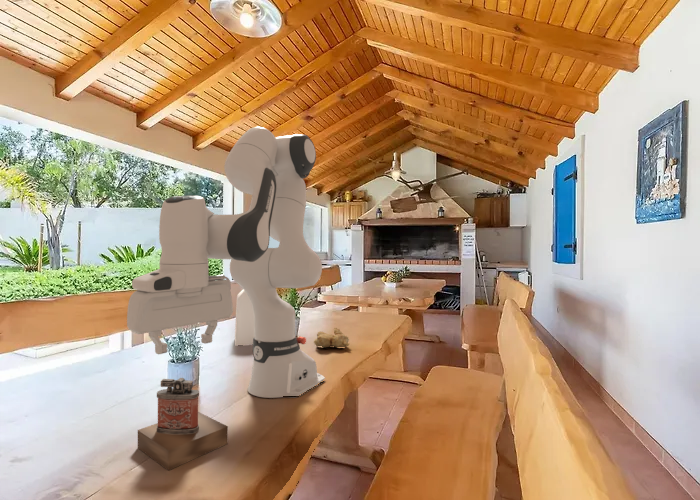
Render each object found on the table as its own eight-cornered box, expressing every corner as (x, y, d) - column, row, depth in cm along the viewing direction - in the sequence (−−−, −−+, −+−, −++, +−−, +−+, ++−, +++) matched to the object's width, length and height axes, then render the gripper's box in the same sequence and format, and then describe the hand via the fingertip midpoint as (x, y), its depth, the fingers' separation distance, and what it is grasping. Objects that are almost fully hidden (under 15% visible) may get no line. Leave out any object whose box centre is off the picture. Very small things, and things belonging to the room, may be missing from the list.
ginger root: (345, 351, 143) (341, 329, 144) (307, 357, 148) (303, 336, 149) (358, 342, 158) (354, 323, 159) (322, 348, 163) (318, 329, 164)
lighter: (201, 426, 78) (202, 376, 77) (194, 435, 74) (194, 382, 74) (162, 425, 78) (162, 375, 78) (152, 433, 75) (153, 381, 74)
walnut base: (195, 426, 85) (195, 410, 85) (227, 443, 78) (227, 426, 78) (137, 447, 76) (137, 430, 76) (168, 470, 69) (168, 450, 69)
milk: (234, 338, 165) (235, 277, 165) (262, 337, 169) (263, 277, 169) (235, 345, 154) (235, 279, 154) (265, 344, 157) (265, 279, 157)
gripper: (221, 273, 87) (221, 334, 87) (122, 280, 71) (123, 356, 71) (239, 275, 83) (239, 339, 83) (138, 283, 67) (139, 363, 67)
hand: (185, 347), depth 77 cm, fingers open, 8 cm apart
